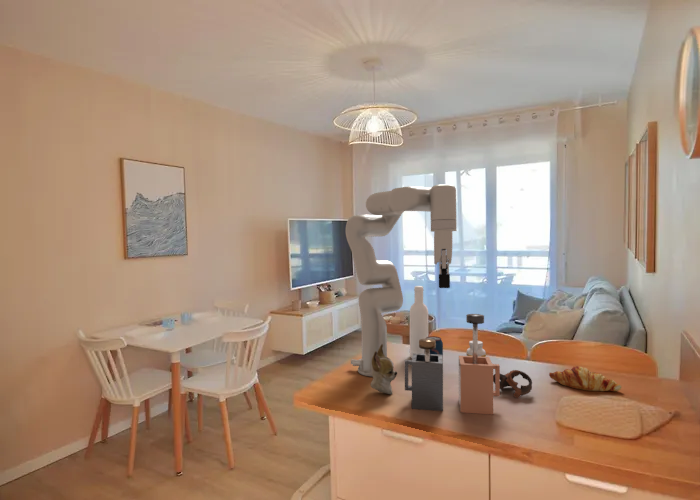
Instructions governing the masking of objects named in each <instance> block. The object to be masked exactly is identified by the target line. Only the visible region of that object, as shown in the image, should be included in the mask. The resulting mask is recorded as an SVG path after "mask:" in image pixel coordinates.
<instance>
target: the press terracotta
mask: <svg viewBox="0 0 700 500" xmlns="http://www.w3.org/2000/svg"><path fill="white" fill-rule="evenodd" d="M500 368H501V367H500V364H499V363H498V364H497V363H492V360H491V358H490V356H486V357H479V356H478V364H473V356H467V355H458V404H459V410H460V411H459V412H460V413H467V414H481V415H494V397H500V395H501V393H500V390H501V389H500V374H501V373H500V372H501V369H500ZM494 371H495V372H494ZM494 374H495V383H494V382H493V375H494Z"/></svg>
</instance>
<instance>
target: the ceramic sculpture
mask: <svg viewBox="0 0 700 500" xmlns="http://www.w3.org/2000/svg"><path fill="white" fill-rule="evenodd" d="M382 348H383V344H381V346H380V348H379V350H378V352H376V351H375V353H374V355H373V357H372V366H371V371H372V375H373V377H372V380H371V382H370V387H371V388H372V389H373V390H376V391H378V392H380V393H383V394H387V395H393V390H392V386H391V382H393V381H395V378H396V377H397V374H398V372H397V371H396V370H394V369H395V368H394V366H395V365H394V362H393V360H392V359H390V358H389V357H388V356H387V357H385V355H384V354H383V350H382Z"/></svg>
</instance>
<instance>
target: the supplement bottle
mask: <svg viewBox="0 0 700 500" xmlns="http://www.w3.org/2000/svg"><path fill="white" fill-rule="evenodd" d="M468 345H469V347H468V348H467V349H466V356H473V340H469V342H468ZM483 346H484V343H483V341H481V340H478V356H479V357H487V356H486V355H487V354H486V350H485V349H484V348H483Z"/></svg>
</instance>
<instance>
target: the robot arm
mask: <svg viewBox="0 0 700 500" xmlns="http://www.w3.org/2000/svg"><path fill="white" fill-rule="evenodd" d="M365 208H366V210H367V211H368V212H369V213H370V214H355V215H352V216H351V217H349V218H348V219H347V221H346V225H345V237H346V241H347V243H348V246H349V249H350V251H351V254H352V257H353V258H352V259H353V262H354V266H355V267H354V268H355V271H356V272H355V273H356V276H357V279H358V282H359V283H360V285H362V286H366V287H367V286H382V287H372V288H371V287H370V288H367V289H365V290H363V291H361V292H360V294H359V295H358V307H359V312H360V317H361V318H360V320H361V321H360V322H361V325H360V327H361V358H359V359H352V358H351V359H350V365H352V366H353V367H358V368H357V372H358V373H359V375H362V376H365V377H372V378H373V375H372V371H371V366H372V357H373V355H374V353H375V351H376V352H378V350H379V348H380V346H381V344H383V348H382V350H383V354H384V355H385V357H388V344H387V343H388V334H387V333H388V332H387V330H388V328H387V322H386V320H385V318H384V317H383V314H384V313H391V312H392V313H393V312H396V311H399V310H400V309H401V308H402V307H403V304H404V296H403V291H402V287H401V283H400V279H399V275H398V272H397V268H396V266H395V265H394V263H393V262H391V261H390V260H387V259H386V260H385V259H383V260H382V259H379V260H378V259H377V257H376V254H375V250H374V247H373V245H372V244H371V243H370V241H368V240H367V239H366V237H367V238H368V237H371V238H372V237H375V238H376V237H378V238H379V237H385V236H387V235H389V233H390V232H391V231H392V230H393V228H395V227H394V226H395V225H396V224H397V222H398V221H399V219H400V218H401V216H402V215H403V213H404V212H427V213H428V212H430V232H434V234H433V261H434V262H433V263H434V265H436V266H437V264H438V267H439V268H438V269H439V271H438V272H439V273H438V288H439V289H450V288H451V278H450V277H451V275H450V268H449V267H450V265H451V264H452V259H453V232H457V230H458V229H457V188H456V187H455V185H453V184H448V183H446V184H445V183H444V184H443V183H441V184H435V185H433V186H431V187H426V186H425V187H424V186H412V185H411V186H409V185H408V186H400V187H397V188H396V187H395V188H393V189H391V190H386V191H380V192H379V191H378V192H374V193H372V194H370V195H369V196H368V197H367V198H366V201H365Z"/></svg>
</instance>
